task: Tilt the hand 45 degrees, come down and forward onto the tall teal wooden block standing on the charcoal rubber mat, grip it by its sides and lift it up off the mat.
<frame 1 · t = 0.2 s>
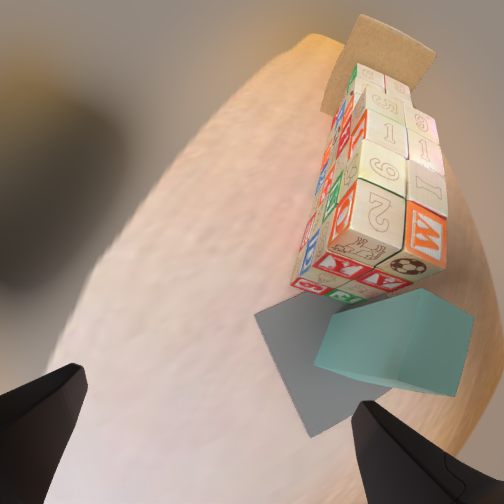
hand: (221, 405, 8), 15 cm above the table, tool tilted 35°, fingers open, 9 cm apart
sandwich container: (355, 94, 34), on the table
teal block: (345, 348, 23), resting on charcoal mat
charcoal mat: (343, 348, 23), on the table
stack of blocks: (343, 197, 28), on the table, touching charcoal mat
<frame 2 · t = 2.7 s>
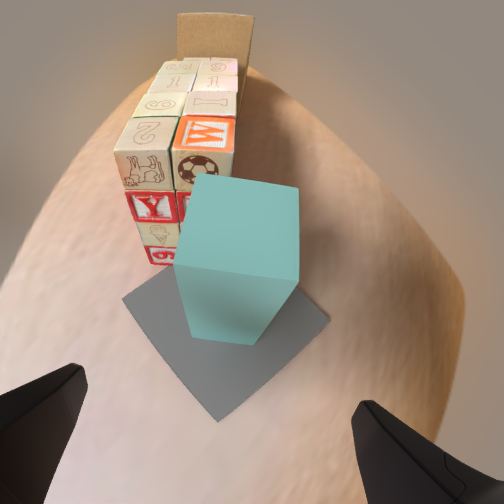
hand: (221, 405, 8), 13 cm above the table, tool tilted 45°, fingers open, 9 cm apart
sandwich container: (214, 92, 39), on the table
teal block: (226, 312, 22), resting on charcoal mat
charcoal mat: (225, 314, 22), on the table
stack of blocks: (199, 177, 29), on the table, touching charcoal mat
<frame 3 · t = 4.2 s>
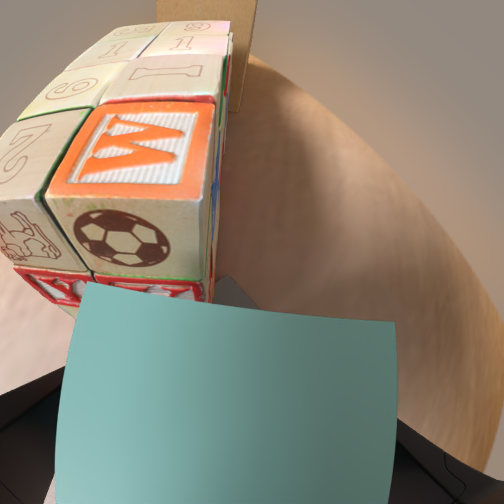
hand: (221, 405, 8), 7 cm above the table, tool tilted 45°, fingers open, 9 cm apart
sandwich container: (207, 81, 30), on the table
teal block: (215, 418, 13), resting on charcoal mat
charcoal mat: (215, 418, 13), on the table
stack of blocks: (177, 199, 20), on the table, touching charcoal mat
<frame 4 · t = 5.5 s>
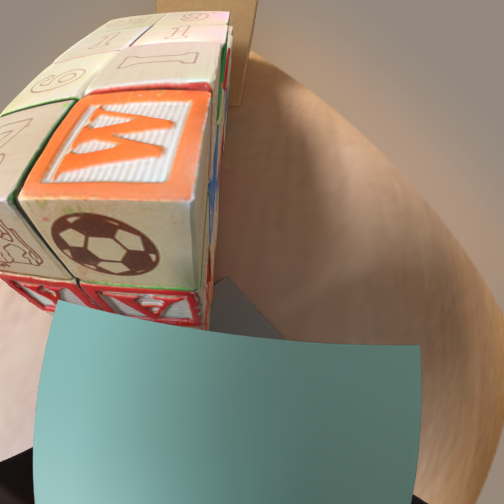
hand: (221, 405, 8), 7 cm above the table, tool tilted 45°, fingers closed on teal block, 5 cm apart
sandwich container: (207, 76, 30), on the table
teal block: (214, 427, 12), point 1 cm above the table, touching charcoal mat, gripper
charcoal mat: (214, 426, 13), on the table
stack of blocks: (175, 198, 19), on the table, touching charcoal mat
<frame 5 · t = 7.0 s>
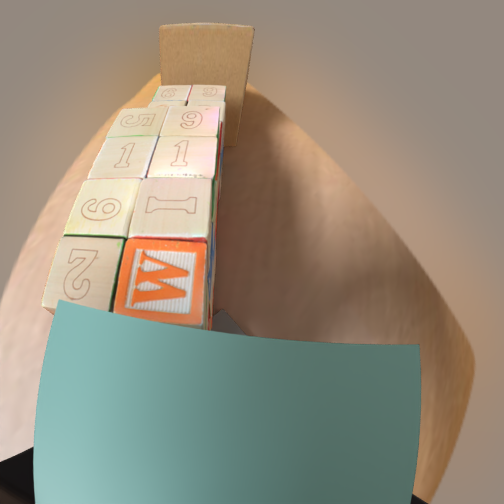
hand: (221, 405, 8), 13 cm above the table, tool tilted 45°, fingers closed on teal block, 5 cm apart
sandwich container: (206, 112, 35), on the table
teal block: (214, 427, 12), point 6 cm above the table, touching gripper
charcoal mat: (213, 418, 18), on the table
stack of blocks: (181, 242, 24), on the table, touching charcoal mat
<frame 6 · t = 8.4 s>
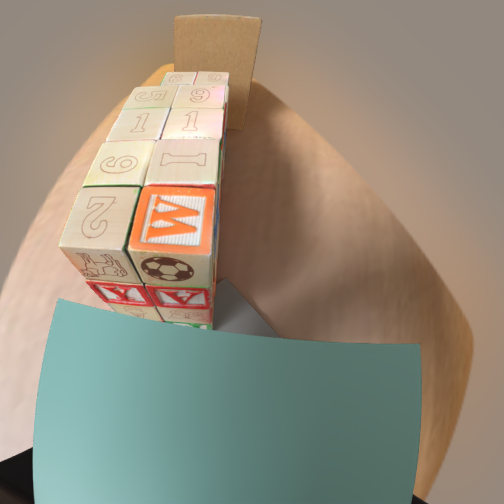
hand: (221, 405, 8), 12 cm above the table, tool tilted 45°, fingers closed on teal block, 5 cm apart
sandwich container: (212, 100, 36), on the table
teal block: (214, 427, 12), point 6 cm above the table, touching gripper
charcoal mat: (216, 386, 19), on the table
stack of blocks: (185, 217, 25), on the table, touching charcoal mat
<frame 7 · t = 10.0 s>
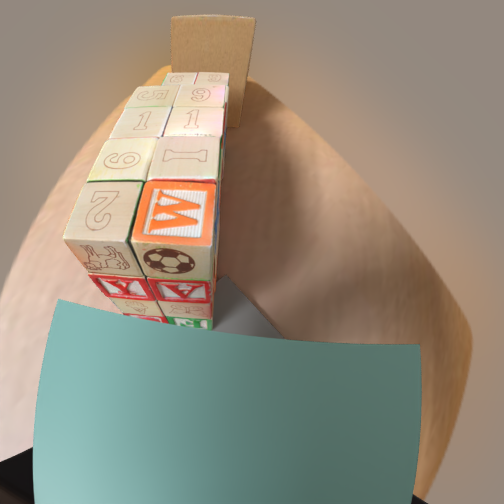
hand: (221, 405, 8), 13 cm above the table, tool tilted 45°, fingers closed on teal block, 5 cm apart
sandwich container: (210, 99, 37), on the table
teal block: (214, 427, 12), point 6 cm above the table, touching gripper
charcoal mat: (216, 381, 19), on the table
stack of blocks: (186, 216, 26), on the table, touching charcoal mat
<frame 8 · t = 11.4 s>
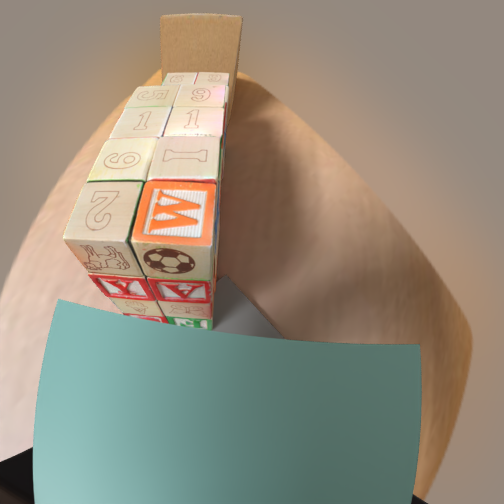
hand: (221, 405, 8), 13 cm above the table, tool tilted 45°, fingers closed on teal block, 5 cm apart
sandwich container: (205, 97, 37), on the table
teal block: (214, 427, 12), point 6 cm above the table, touching gripper
charcoal mat: (216, 381, 19), on the table
stack of blocks: (186, 216, 26), on the table, touching charcoal mat
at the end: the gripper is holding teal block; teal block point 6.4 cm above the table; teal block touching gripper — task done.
